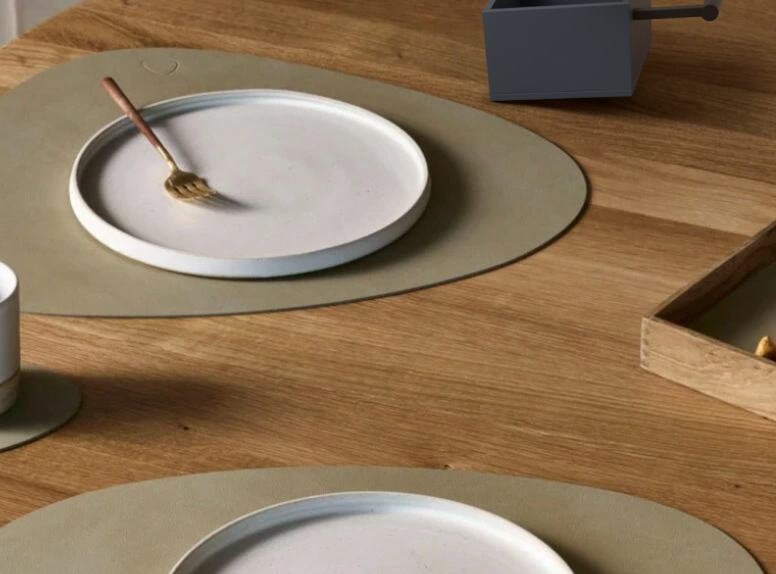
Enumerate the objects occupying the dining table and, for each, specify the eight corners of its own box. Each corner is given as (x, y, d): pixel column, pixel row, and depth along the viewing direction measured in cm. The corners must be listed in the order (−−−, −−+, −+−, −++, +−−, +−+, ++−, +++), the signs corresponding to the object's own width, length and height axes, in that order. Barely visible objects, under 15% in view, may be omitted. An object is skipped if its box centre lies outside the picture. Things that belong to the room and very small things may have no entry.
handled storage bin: (731, 38, 153) (731, -52, 148) (716, 93, 143) (716, -2, 138) (518, 48, 161) (511, -38, 156) (490, 101, 151) (481, 12, 146)
